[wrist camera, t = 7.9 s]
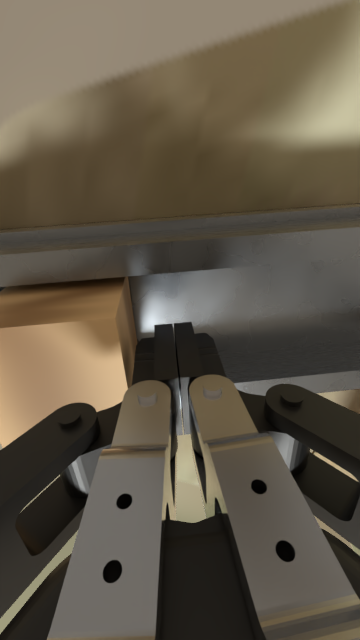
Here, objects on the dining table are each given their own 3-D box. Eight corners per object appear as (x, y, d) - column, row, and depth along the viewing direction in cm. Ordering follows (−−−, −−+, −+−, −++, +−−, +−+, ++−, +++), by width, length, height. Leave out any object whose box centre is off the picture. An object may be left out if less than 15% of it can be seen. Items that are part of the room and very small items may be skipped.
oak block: (126, 270, 14) (115, 318, 9) (139, 360, 16) (135, 433, 11) (15, 279, 13) (-52, 332, 9) (45, 369, 16) (2, 448, 11)
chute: (436, 197, 15) (513, 204, 12) (389, 350, 19) (437, 386, 16) (-19, 231, 14) (-70, 248, 10) (35, 386, 18) (11, 432, 14)
